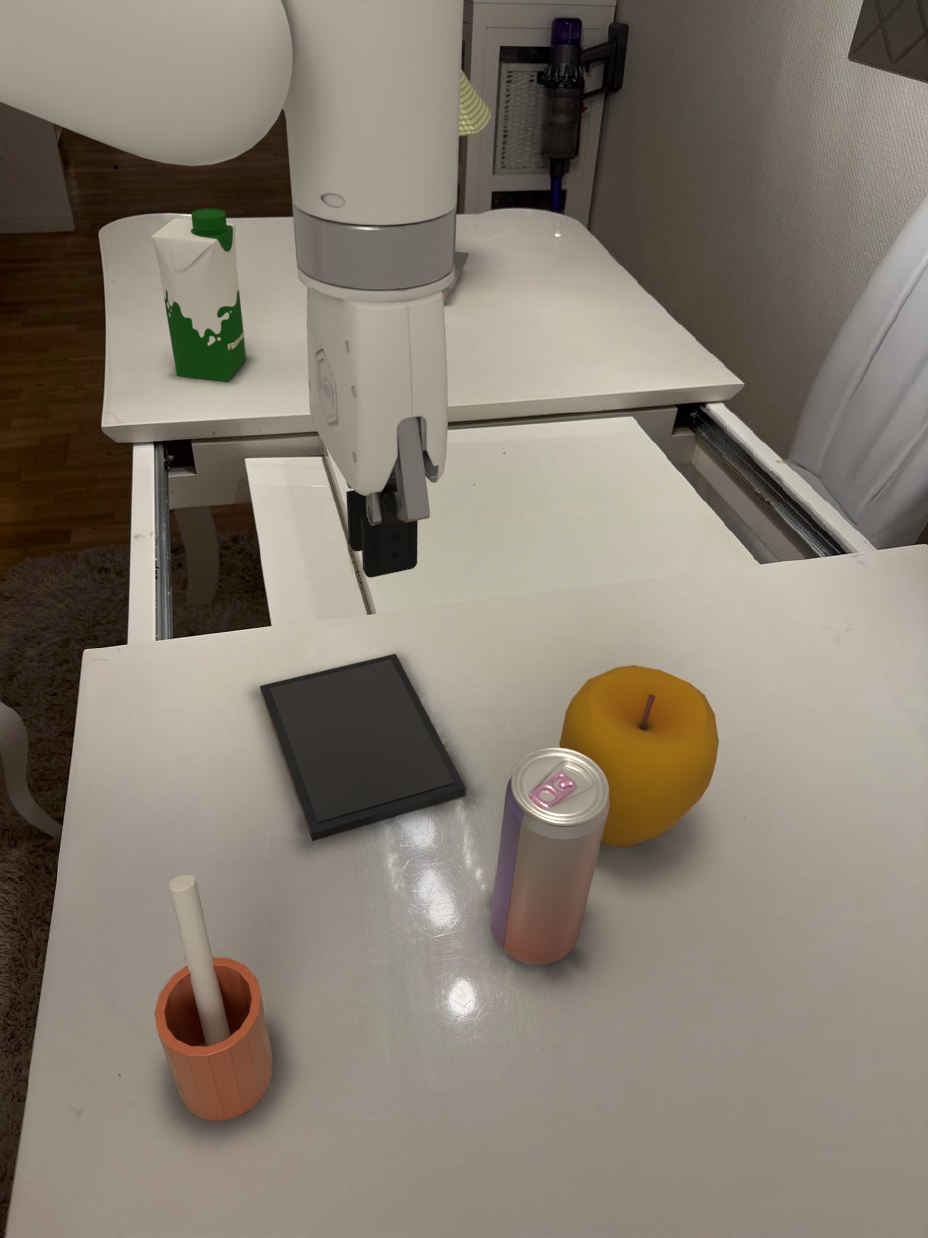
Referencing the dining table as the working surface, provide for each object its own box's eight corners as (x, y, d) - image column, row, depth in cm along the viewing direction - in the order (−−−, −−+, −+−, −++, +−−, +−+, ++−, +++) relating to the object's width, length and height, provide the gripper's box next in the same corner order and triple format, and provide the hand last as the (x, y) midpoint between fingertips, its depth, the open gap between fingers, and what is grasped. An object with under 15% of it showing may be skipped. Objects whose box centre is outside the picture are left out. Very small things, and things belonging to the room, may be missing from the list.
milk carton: (233, 385, 120) (214, 226, 108) (166, 377, 121) (139, 218, 108) (254, 357, 127) (239, 204, 114) (191, 350, 128) (169, 197, 115)
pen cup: (186, 1136, 51) (163, 1072, 46) (171, 1046, 55) (148, 976, 50) (283, 1099, 53) (271, 1033, 48) (261, 1014, 57) (248, 944, 52)
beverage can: (471, 923, 62) (485, 777, 53) (534, 875, 65) (558, 729, 56) (533, 988, 59) (561, 845, 49) (596, 933, 62) (634, 789, 52)
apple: (661, 907, 64) (701, 785, 56) (521, 839, 68) (540, 716, 59) (710, 799, 71) (752, 678, 63) (582, 744, 75) (605, 623, 67)
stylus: (213, 1080, 53) (169, 893, 48) (210, 1062, 54) (167, 878, 49) (238, 1071, 53) (197, 885, 48) (234, 1053, 54) (193, 870, 50)
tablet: (311, 841, 67) (310, 832, 66) (260, 694, 78) (259, 684, 77) (465, 796, 71) (466, 786, 70) (395, 661, 82) (395, 652, 81)
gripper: (258, 198, 48) (288, 500, 60) (348, 315, 37) (363, 656, 49) (395, 188, 50) (397, 480, 62) (519, 294, 39) (493, 625, 51)
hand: (382, 555), depth 55 cm, fingers closed
